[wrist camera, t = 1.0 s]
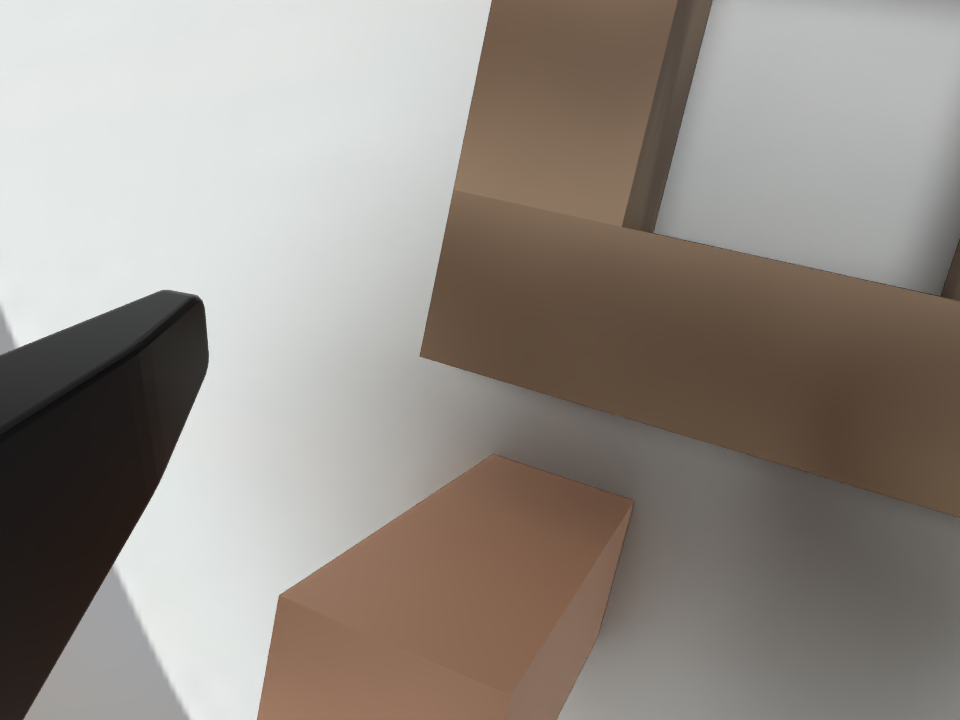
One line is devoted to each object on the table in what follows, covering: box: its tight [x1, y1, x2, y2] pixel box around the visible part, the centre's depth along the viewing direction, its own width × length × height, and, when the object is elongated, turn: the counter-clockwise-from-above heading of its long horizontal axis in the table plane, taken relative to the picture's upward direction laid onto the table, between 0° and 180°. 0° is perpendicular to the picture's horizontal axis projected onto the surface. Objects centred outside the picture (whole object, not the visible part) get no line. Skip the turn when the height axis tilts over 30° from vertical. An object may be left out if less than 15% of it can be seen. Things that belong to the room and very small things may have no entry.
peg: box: [257, 454, 634, 720], centre depth 17 cm, size 4×4×10 cm
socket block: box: [420, 0, 960, 518], centre depth 16 cm, size 14×14×4 cm
